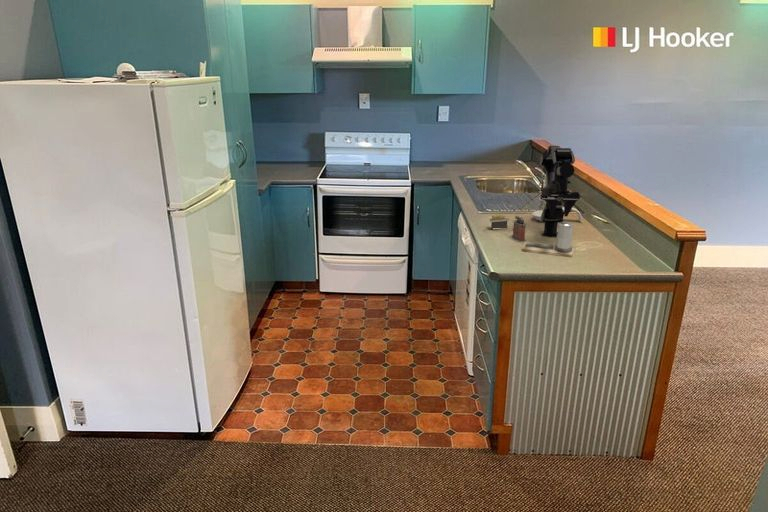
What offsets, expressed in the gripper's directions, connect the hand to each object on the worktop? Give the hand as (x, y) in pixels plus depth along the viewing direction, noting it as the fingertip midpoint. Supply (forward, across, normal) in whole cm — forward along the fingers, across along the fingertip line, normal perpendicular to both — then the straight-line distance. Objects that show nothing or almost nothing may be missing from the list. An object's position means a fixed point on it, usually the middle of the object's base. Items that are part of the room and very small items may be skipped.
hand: (558, 216), depth 230 cm
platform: (+8, -31, -10) cm, 34 cm away
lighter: (+11, -15, -10) cm, 21 cm away
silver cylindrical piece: (+12, +7, -2) cm, 14 cm away
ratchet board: (+14, +3, -6) cm, 16 cm away
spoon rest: (+4, -33, +23) cm, 40 cm away
